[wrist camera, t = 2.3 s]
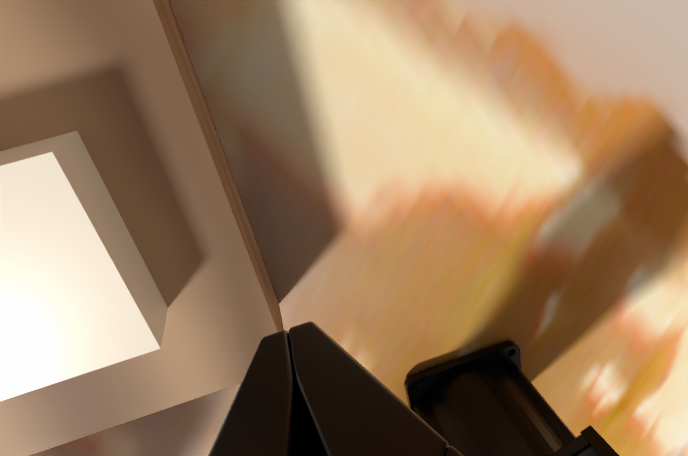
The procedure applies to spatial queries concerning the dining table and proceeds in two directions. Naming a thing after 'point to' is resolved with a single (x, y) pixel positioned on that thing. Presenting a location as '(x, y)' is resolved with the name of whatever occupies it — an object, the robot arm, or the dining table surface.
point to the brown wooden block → (137, 205)
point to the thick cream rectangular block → (67, 271)
